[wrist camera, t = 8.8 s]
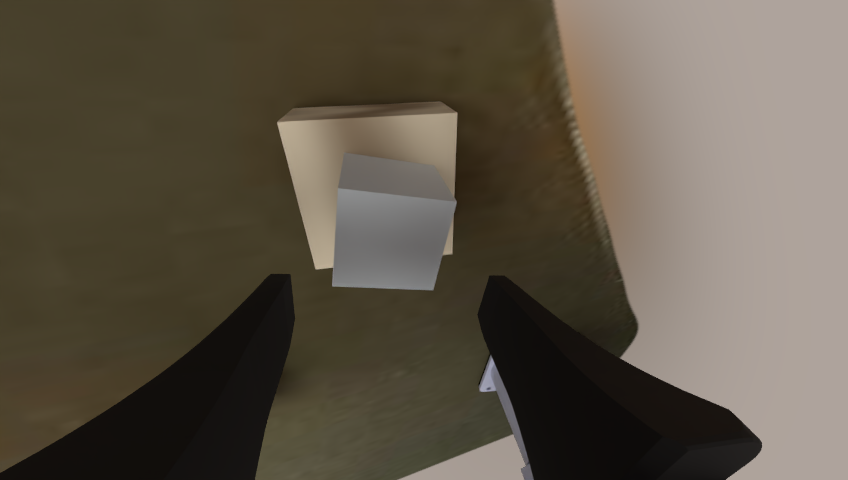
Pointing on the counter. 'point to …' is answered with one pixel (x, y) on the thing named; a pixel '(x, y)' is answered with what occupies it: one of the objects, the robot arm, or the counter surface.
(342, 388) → the counter surface
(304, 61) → the counter surface
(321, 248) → the birch block
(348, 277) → the grey-blue cube
